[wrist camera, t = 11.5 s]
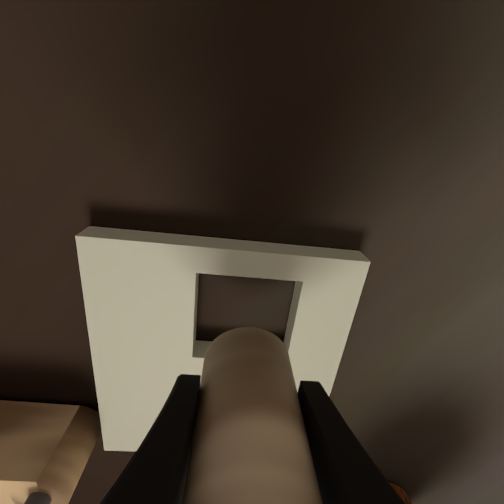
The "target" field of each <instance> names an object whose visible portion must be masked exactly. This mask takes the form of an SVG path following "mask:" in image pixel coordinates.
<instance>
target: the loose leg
mask: <svg viewBox="0 0 504 504" xmlns="http://www.w3.org/2000/svg"><path fill="white" fill-rule="evenodd" d="M182 504H323V503H322V499H321V494H320V490H319V485H318V481H317V477H316V472H315V468H314V464H313V459H312V455H311V450H310V446H309V442H308V437H307V433H306V428H305V424H304V420H303V415H302V411H301V407H300V402H299V398H298V393H297V389H296V385H295V380H294V376H293V371H292V367H291V363H290V358H289V354H288V351H287V348H286V346H285V344H284V343H283V342H282V341H281V339H280V338H278V337H277V336H276V335H275V334H273V333H271V332H269V331H267V330H264V329H261V328H256V327H241V328H235V329H231V330H229V331H226V332H224V333H222V334H221V335H219V336H218V337H217V338H215V339H214V340H213V341H212V342H211V344H210V345H209V347H208V348H207V350H206V353H205V357H204V363H203V370H202V376H201V383H200V392H199V398H198V405H197V411H196V418H195V423H194V429H193V434H192V441H191V447H190V454H189V460H188V467H187V473H186V480H185V486H184V493H183V499H182Z"/></svg>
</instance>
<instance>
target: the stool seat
mask: <svg viewBox="0 0 504 504" xmlns="http://www.w3.org/2000/svg"><path fill="white" fill-rule="evenodd" d="M75 238H76V245H77V253H78V260H79V267H80V275H81V282H82V290H83V297H84V304H85V312H86V319H87V326H88V334H89V341H90V349H91V356H92V363H93V371H94V378H95V385H96V393H97V400H98V408H99V415H100V422H101V430H102V437H103V444H104V450H105V451H137V449H138V448H139V446H140V445H141V443H142V442H143V440H144V438H145V437H146V435H147V433H148V432H149V430H150V428H151V427H152V425H153V423H154V422H155V420H156V418H157V417H158V415H159V413H160V411H161V409H162V408H163V406H164V404H165V402H166V400H167V398H168V396H169V394H170V392H171V390H172V388H173V386H174V384H175V382H176V379H177V377H178V376H179V375H181V374H189V375H201V376H202V370H203V363H204V357H205V353H206V350H207V348H208V347H209V345H210V344H211V342H212V341H197V340H196V324H197V303H198V282H199V273H203V274H215V275H227V276H239V277H252V278H264V279H276V280H289V281H295V286H294V291H293V296H292V301H291V306H290V311H289V317H288V322H287V327H286V332H285V337H284V342H283V343H284V344H285V346H286V348H287V351H288V354H289V358H290V363H291V367H292V371H293V376H294V380H295V385H296V389H297V393H298V389H299V385H300V381H301V380H302V381H319V382H320V383H321V385H322V386H323V388H324V389H325V391H326V393H327V394H328V396H330V393H331V389H332V386H333V383H334V380H335V376H336V373H337V370H338V367H339V363H340V360H341V357H342V354H343V350H344V347H345V344H346V341H347V337H348V334H349V331H350V327H351V324H352V321H353V318H354V314H355V311H356V308H357V305H358V301H359V298H360V295H361V292H362V288H363V285H364V282H365V279H366V275H367V272H368V269H369V265H370V261H369V260H368V259H367V258H366V257H365V256H364V255H363V254H362V253H361V252H360V251H356V250H345V249H334V248H323V247H312V246H301V245H290V244H279V243H269V242H258V241H247V240H236V239H225V238H214V237H203V236H192V235H182V234H171V233H160V232H149V231H138V230H127V229H116V228H105V227H95V226H89V227H88V228H86V229H85V230H83V231H82V232H80V233H79V234H77V235H76V236H75ZM200 383H201V378H200Z"/></svg>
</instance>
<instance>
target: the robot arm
mask: <svg viewBox="0 0 504 504" xmlns="http://www.w3.org/2000/svg"><path fill="white" fill-rule="evenodd" d="M200 378H201V375H189V374H181V375H179V376H178V377H177V379H176V382H175V384H174V386H173V388H172V390H171V392H170V394H169V396H168V398H167V400H166V402H165V404H164V406H163V408H162V409H161V411H160V413H159V415H158V417H157V418H156V420H155V422H154V423H153V425H152V427H151V428H150V430H149V432H148V433H147V435H146V437H145V438H144V440H143V442H142V443H141V445H140V446H139V448H138V449H137V451H136V452H135V454H134V455H133V457H132V458H131V460H130V461H129V463H128V464H127V466H126V467H125V469H124V470H123V472H122V473H121V475H120V476H119V478H118V479H117V481H116V482H115V483H114V485H113V486H112V488H111V489H110V490H109V492H108V493H107V495H106V496H105V497H104V499H103V500H102V502H101V503H100V504H182V499H183V493H184V486H185V480H186V473H187V467H188V460H189V454H190V447H191V441H192V434H193V429H194V423H195V418H196V411H197V405H198V398H199V392H200ZM298 398H299V402H300V407H301V411H302V415H303V420H304V424H305V428H306V433H307V437H308V442H309V446H310V450H311V455H312V459H313V464H314V468H315V472H316V477H317V481H318V485H319V490H320V494H321V499H322V503H323V504H406V503H405V502H404V501H403V500H402V498H401V497H400V496H399V495H398V493H397V492H396V491H395V490H394V488H393V487H392V486H391V484H390V483H389V482H388V481H387V479H386V478H385V477H384V475H383V474H382V473H381V471H380V470H379V469H378V467H377V466H376V465H375V463H374V462H373V461H372V459H371V458H370V457H369V455H368V454H367V452H366V451H365V450H364V448H363V447H362V445H361V444H360V442H359V441H358V440H357V438H356V437H355V435H354V434H353V432H352V431H351V430H350V428H349V427H348V425H347V424H346V422H345V421H344V419H343V418H342V416H341V415H340V413H339V411H338V410H337V408H336V407H335V405H334V404H333V402H332V401H331V399H330V397H329V396H328V394H327V393H326V391H325V389H324V388H323V386H322V385H321V383H320V382H319V381H302V380H301V381H300V385H299V389H298Z"/></svg>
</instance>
